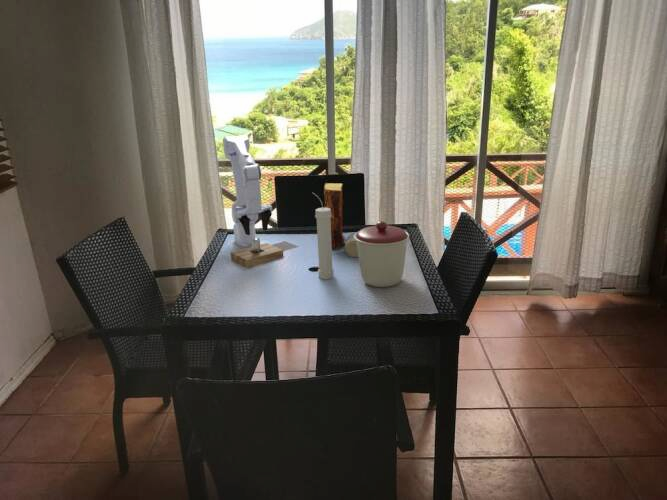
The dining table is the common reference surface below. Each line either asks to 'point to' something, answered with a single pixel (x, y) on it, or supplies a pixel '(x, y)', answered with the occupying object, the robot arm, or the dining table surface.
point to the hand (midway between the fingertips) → (256, 232)
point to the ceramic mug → (351, 246)
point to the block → (256, 255)
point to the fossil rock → (335, 212)
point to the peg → (256, 245)
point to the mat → (285, 245)
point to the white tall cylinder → (324, 242)
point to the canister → (381, 254)
